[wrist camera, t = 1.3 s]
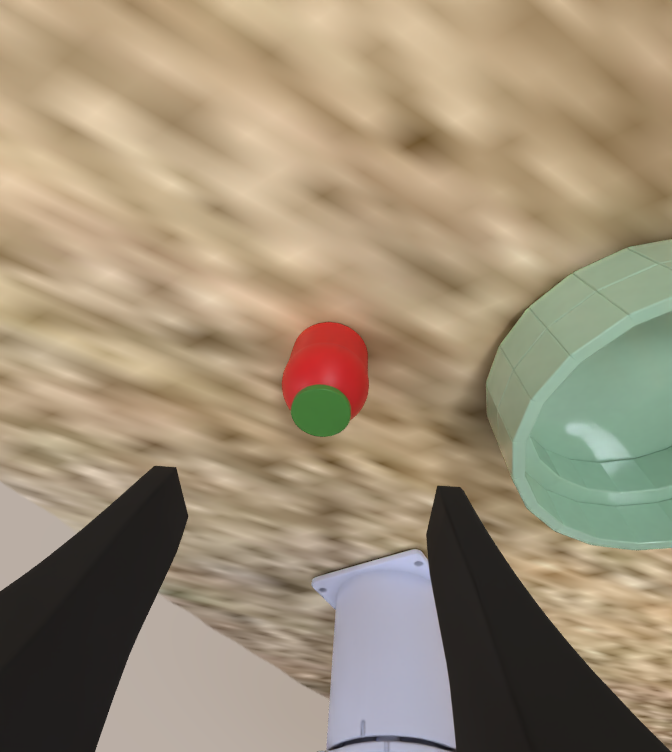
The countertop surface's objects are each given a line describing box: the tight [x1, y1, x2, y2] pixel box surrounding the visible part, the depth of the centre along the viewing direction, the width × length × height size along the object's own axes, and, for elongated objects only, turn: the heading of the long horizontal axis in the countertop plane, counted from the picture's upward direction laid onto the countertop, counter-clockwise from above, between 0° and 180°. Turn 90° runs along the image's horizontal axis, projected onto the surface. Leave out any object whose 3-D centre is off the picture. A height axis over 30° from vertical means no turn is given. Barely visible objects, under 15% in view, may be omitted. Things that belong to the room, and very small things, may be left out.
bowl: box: [486, 239, 672, 550], centre depth 16 cm, size 12×12×4 cm
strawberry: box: [282, 322, 369, 437], centre depth 17 cm, size 4×4×4 cm
